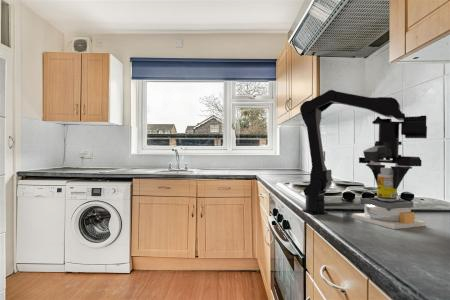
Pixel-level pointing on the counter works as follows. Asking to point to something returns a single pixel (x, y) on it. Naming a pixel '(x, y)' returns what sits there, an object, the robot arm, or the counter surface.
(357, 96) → the robot arm
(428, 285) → the counter surface
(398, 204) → the hollow square frame
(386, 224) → the mount plate
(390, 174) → the supplement bottle
